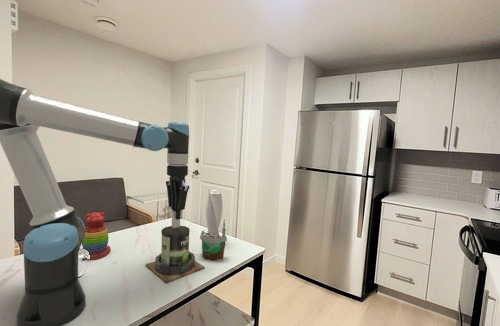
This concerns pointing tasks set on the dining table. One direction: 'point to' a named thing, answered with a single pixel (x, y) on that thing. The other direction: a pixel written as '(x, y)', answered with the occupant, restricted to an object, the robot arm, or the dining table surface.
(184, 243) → the coffee can
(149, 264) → the board
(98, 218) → the stacking bear
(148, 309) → the dining table surface
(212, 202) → the skyscraper
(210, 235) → the food container
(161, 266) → the collar
